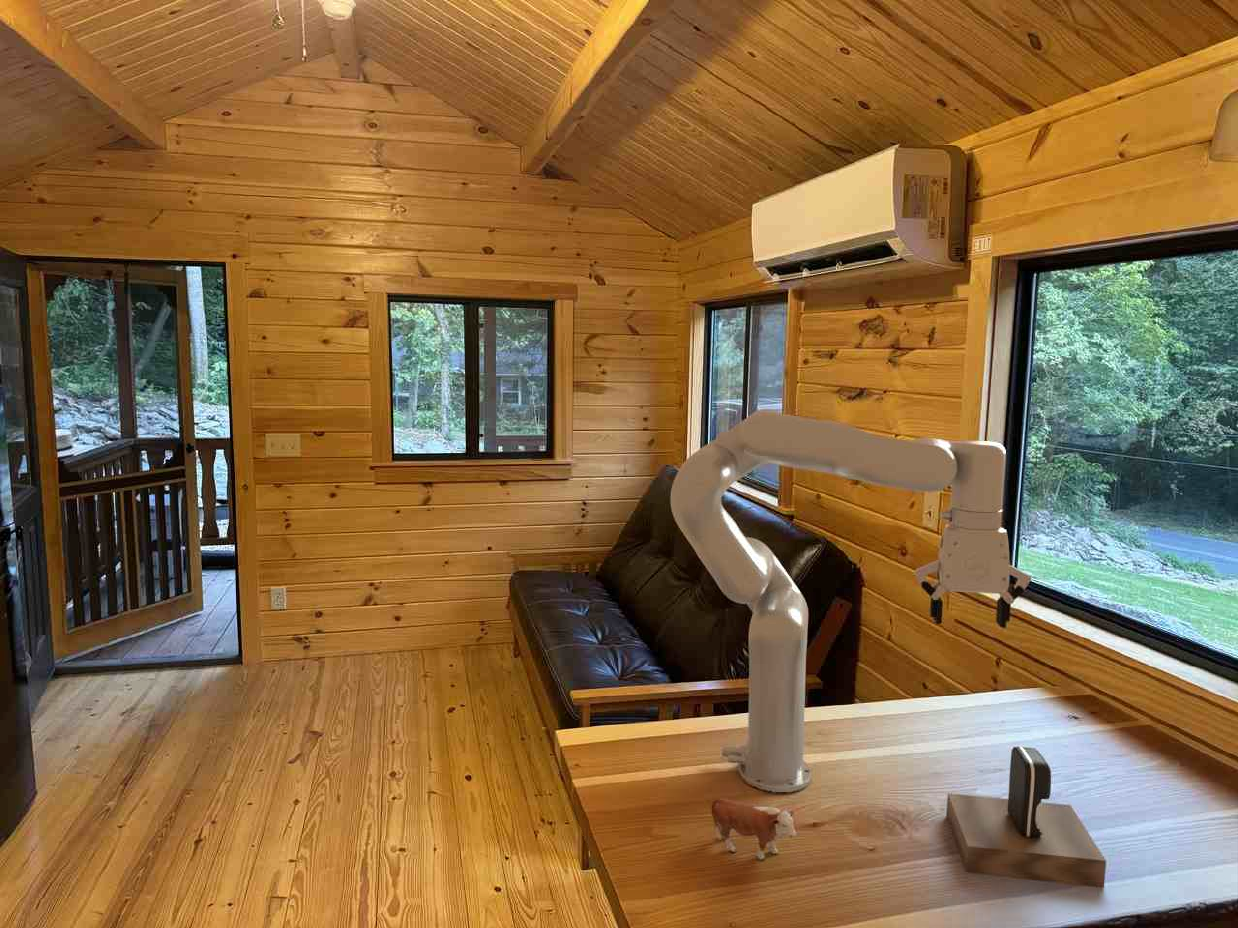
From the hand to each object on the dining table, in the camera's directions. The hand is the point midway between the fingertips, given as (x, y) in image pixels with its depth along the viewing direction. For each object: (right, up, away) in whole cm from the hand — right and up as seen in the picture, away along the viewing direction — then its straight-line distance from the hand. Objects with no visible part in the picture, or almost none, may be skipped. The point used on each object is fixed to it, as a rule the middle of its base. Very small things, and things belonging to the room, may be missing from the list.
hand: (968, 623), depth 130 cm
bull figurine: (-36, -32, -10) cm, 50 cm away
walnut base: (+3, -32, -9) cm, 34 cm away
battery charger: (+4, -28, -10) cm, 30 cm away
